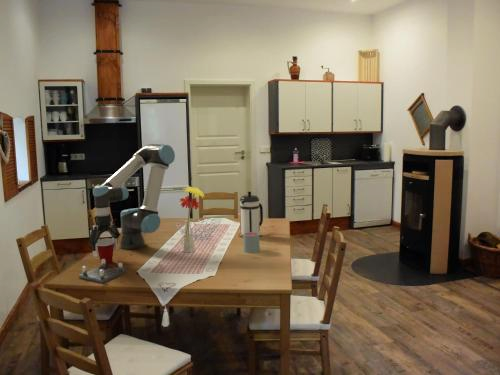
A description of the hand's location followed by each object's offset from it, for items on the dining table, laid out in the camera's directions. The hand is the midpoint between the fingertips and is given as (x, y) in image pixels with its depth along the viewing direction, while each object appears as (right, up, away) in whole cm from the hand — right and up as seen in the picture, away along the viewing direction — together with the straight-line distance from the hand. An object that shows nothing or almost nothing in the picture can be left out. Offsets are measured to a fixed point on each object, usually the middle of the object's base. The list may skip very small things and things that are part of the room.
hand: (105, 252), depth 230 cm
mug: (+80, -1, +19) cm, 82 cm away
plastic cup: (0, -5, +1) cm, 6 cm away
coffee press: (+79, +3, +49) cm, 93 cm away
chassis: (+5, -8, -19) cm, 21 cm away
